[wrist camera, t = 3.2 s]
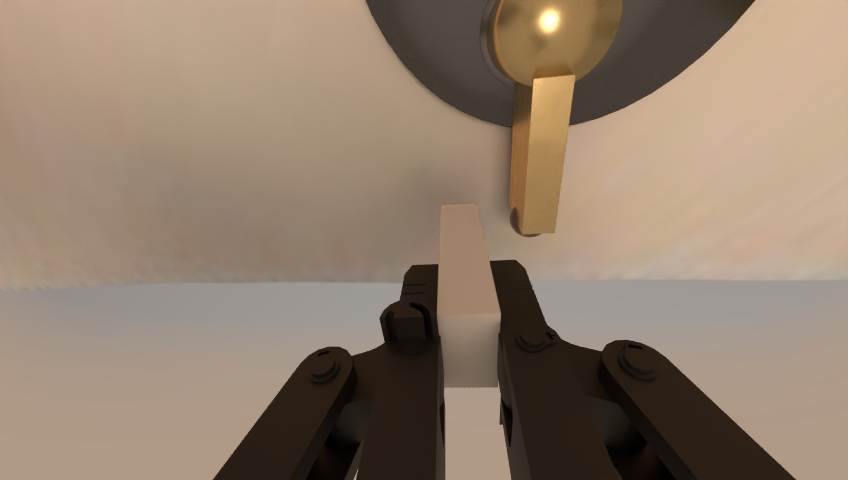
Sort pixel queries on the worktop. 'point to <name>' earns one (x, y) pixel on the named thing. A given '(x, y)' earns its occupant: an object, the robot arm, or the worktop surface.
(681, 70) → the levelling base
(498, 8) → the knob
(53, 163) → the worktop surface
